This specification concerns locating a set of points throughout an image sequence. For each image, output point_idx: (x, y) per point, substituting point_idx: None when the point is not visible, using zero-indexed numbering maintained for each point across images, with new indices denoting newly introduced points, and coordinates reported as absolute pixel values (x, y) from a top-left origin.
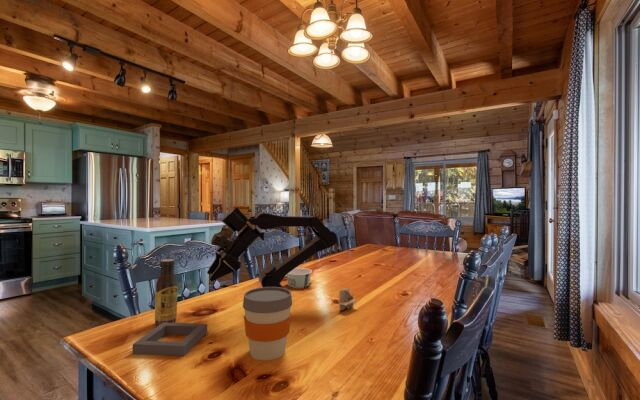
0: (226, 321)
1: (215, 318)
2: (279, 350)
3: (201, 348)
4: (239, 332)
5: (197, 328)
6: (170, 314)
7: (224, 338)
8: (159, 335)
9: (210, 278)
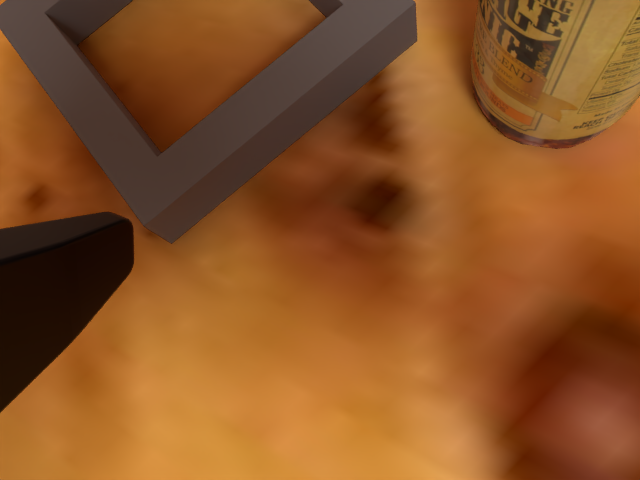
0: (236, 450)
1: (364, 418)
2: None
3: (23, 133)
4: None
5: (130, 144)
6: (474, 47)
7: None
8: None
9: (91, 222)
